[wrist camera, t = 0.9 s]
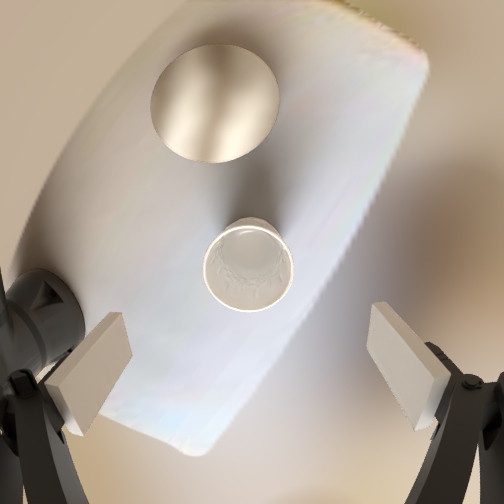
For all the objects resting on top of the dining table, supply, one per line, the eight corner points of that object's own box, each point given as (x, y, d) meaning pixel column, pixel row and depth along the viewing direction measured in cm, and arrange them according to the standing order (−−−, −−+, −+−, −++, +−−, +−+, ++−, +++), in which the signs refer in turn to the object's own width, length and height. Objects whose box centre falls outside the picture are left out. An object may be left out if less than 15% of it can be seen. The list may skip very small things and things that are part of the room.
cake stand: (167, 169, 33) (151, 168, 28) (166, 68, 30) (152, 53, 25) (278, 162, 33) (282, 159, 28) (273, 59, 30) (276, 40, 24)
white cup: (218, 210, 34) (203, 223, 25) (286, 213, 34) (297, 227, 25) (217, 274, 36) (203, 309, 27) (282, 277, 36) (290, 313, 27)
